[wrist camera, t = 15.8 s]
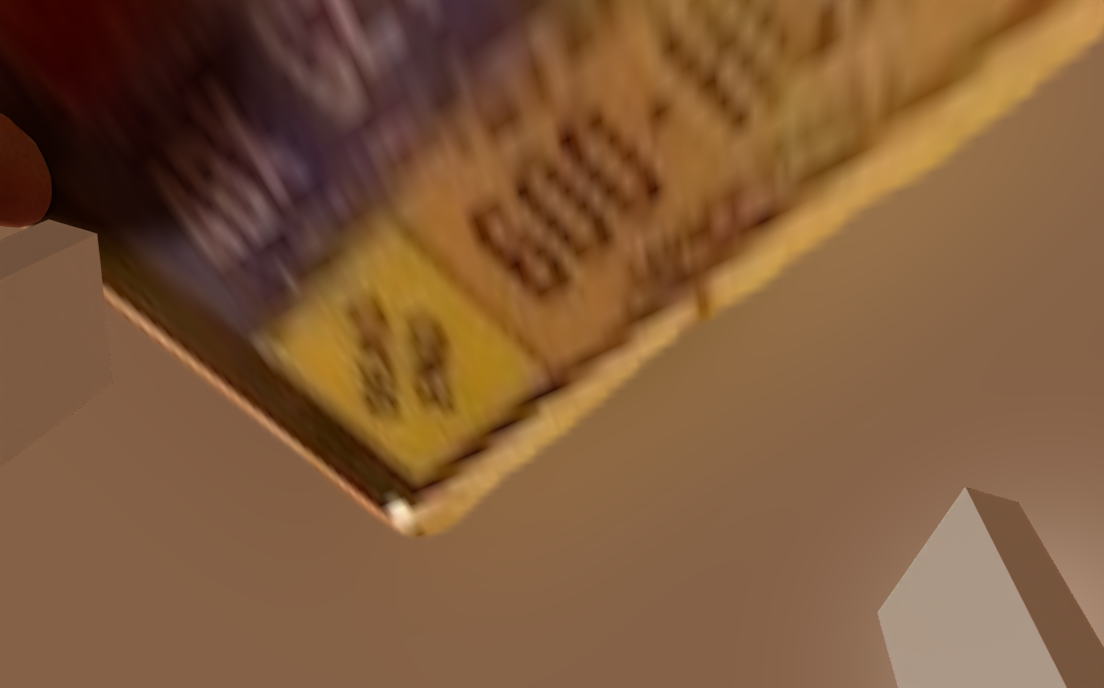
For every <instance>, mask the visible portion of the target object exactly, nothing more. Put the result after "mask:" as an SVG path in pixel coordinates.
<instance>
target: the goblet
mask: <svg viewBox="0 0 1104 688" xmlns="http://www.w3.org/2000/svg"><path fill="white" fill-rule="evenodd" d="M51 198H52V185H51V175H50V172H49V170H48V167H47V165H46V162H45V160H44V158H43V156H42V154H41V152H40V150H39V148H38V146H37V145H36V143H35V142H34V141H33V140H32V139H31V138H30V137H29V136H28V135H27V134H26V133H25V132H24V131H23V130H21V129H20V128H19V127H18V126H17V125H16V124H15V123H14V122H13V121H11V120H10V119H9V118H8V117H6V116H4V115H3V114H1V113H0V226H6V227H23V226H27V225H31V224H33V223H36V222H38V221H40V220H41V219H42V218H43V217H44V216H45V214H46V212H47V210H48V208H49V206H50V203H51Z"/></svg>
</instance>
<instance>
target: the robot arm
mask: <svg viewBox="0 0 1104 688" xmlns="http://www.w3.org/2000/svg"><path fill="white" fill-rule="evenodd" d="M111 384H113V383H112V372H111V362H110V353H109V344H108V334H107V324H106V314H105V305H104V295H103V285H102V276H101V266H100V256H99V247H98V237H97V233H93V232H90V231H87V230H83V229H80V228H76V227H73V226H69V225H66V224H63V223H59V222H56V221H52V220H47V221H44V222H42V223H39V224H37V225H35V226H32V227H30V228H27V229H25V230H23V231H20V232H18V233H16V234H13V235H11V236H8V237H6V238H4V239H1V240H0V468H1V467H2V466H3V465H4V464H6V463H7V462H9V461H10V460H11V459H13V458H14V457H15V456H17V455H18V454H19V453H21V452H22V451H23V450H25V449H26V448H27V447H29V446H30V445H31V444H33V443H34V442H35V441H37V440H38V439H39V438H41V437H42V436H43V435H45V434H46V433H47V432H49V431H50V430H51V429H53V428H54V427H55V426H57V425H58V424H59V423H61V422H62V421H63V420H65V419H66V418H68V417H69V416H70V415H71V414H73V413H74V412H75V411H77V410H78V409H80V408H81V407H82V406H83V405H85V404H86V403H88V402H89V401H90V400H92V399H93V398H94V397H96V396H97V395H98V394H100V393H101V392H102V391H104V390H105V389H106V388H108V387H109V386H110V385H111ZM878 617H879V620H880V624H881V628H882V631H883V635H884V638H885V642H886V646H887V649H888V653H889V656H890V660H891V663H892V667H893V671H894V674H895V678H896V682H897V685H898V688H1104V647H1103V646H1102V644H1101V642H1100V640H1099V639H1098V637H1097V635H1096V634H1095V632H1094V630H1093V628H1092V627H1091V625H1090V624H1089V622H1088V620H1087V618H1086V617H1085V615H1084V613H1083V611H1082V610H1081V608H1080V606H1079V605H1078V603H1077V601H1076V600H1075V598H1074V597H1073V594H1072V593H1071V591H1070V589H1069V588H1068V586H1067V584H1066V582H1065V581H1064V579H1063V577H1062V576H1061V574H1060V572H1059V571H1058V569H1057V567H1056V565H1055V564H1054V562H1053V560H1052V559H1051V557H1050V555H1049V554H1048V552H1047V550H1046V548H1045V547H1044V545H1043V543H1042V542H1041V540H1040V538H1039V537H1038V535H1037V533H1036V531H1035V530H1034V528H1033V526H1032V525H1031V523H1030V521H1029V519H1028V518H1027V516H1026V514H1025V513H1024V511H1023V509H1022V508H1021V506H1020V504H1019V503H1018V502H1016V501H1012V500H1008V499H1005V498H1002V497H998V496H995V495H992V494H988V493H984V492H981V491H978V490H974V489H971V488H967V487H965V488H964V489H963V491H962V492H961V494H960V495H959V497H958V498H957V499H956V501H955V502H954V504H953V505H952V507H951V508H950V509H949V511H948V512H947V514H946V515H945V517H944V518H943V519H942V521H941V522H940V524H939V525H938V527H937V528H936V530H935V531H934V533H933V534H932V535H931V537H930V538H929V540H928V541H927V542H926V544H925V545H924V547H923V548H922V550H921V551H920V552H919V554H918V556H917V557H916V558H915V560H914V561H913V563H912V564H911V565H910V567H909V568H908V570H907V571H906V573H905V574H904V575H903V577H902V578H901V580H900V581H899V583H898V584H897V585H896V587H895V588H894V590H893V591H892V593H891V594H890V596H889V597H888V598H887V600H886V601H885V603H884V604H883V606H882V607H881V608H880V610H879V611H878Z"/></svg>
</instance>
